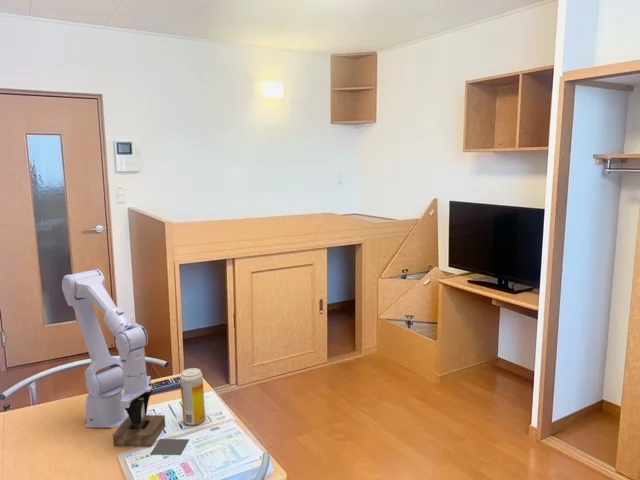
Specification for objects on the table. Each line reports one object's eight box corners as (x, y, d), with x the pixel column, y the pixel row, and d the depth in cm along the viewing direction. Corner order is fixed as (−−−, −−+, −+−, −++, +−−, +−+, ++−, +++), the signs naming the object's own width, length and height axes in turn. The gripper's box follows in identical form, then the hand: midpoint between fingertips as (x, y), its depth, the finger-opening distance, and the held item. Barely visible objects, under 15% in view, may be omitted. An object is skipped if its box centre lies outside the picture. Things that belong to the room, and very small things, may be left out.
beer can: (208, 416, 144) (205, 367, 141) (201, 427, 138) (197, 376, 136) (188, 415, 145) (184, 367, 142) (180, 426, 139) (176, 376, 136)
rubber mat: (149, 455, 125) (149, 454, 125) (160, 440, 132) (160, 438, 132) (180, 456, 125) (180, 454, 125) (189, 440, 132) (189, 439, 132)
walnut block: (114, 447, 129) (112, 434, 129) (130, 426, 139) (129, 415, 139) (151, 447, 129) (150, 435, 128) (165, 426, 139) (164, 415, 138)
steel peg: (132, 432, 132) (129, 401, 131) (137, 426, 135) (134, 395, 134) (143, 432, 132) (140, 401, 131) (147, 426, 135) (145, 396, 134)
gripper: (138, 384, 124) (142, 434, 126) (159, 361, 138) (163, 406, 140) (110, 384, 124) (115, 434, 126) (135, 361, 138) (139, 406, 141)
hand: (139, 419), depth 133 cm, fingers closed on steel peg, 3 cm apart
